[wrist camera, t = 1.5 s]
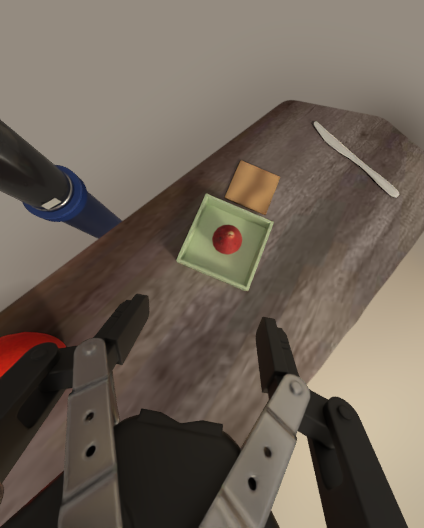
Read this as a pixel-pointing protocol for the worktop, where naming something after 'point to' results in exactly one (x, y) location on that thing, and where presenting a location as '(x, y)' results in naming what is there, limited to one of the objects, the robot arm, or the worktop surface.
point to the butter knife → (356, 160)
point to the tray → (213, 262)
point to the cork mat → (252, 187)
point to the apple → (21, 347)
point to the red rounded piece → (227, 239)
